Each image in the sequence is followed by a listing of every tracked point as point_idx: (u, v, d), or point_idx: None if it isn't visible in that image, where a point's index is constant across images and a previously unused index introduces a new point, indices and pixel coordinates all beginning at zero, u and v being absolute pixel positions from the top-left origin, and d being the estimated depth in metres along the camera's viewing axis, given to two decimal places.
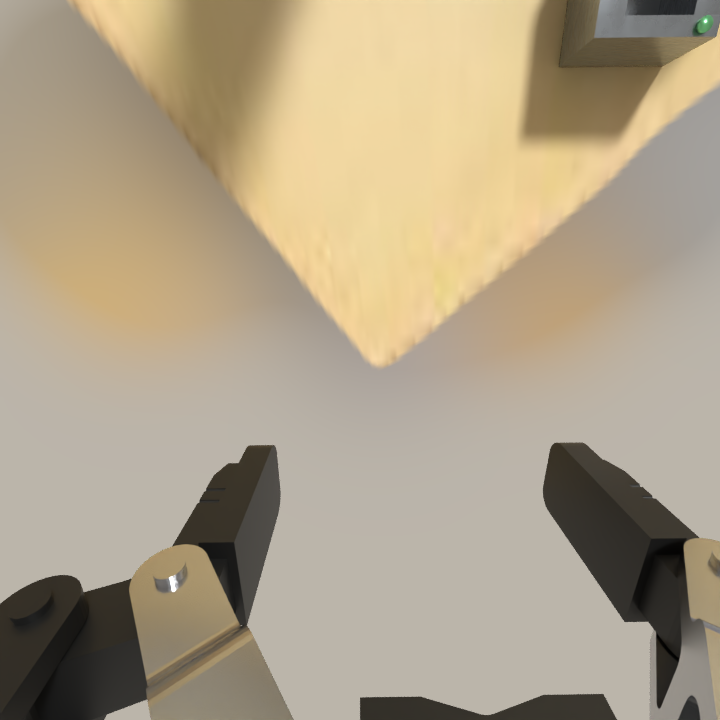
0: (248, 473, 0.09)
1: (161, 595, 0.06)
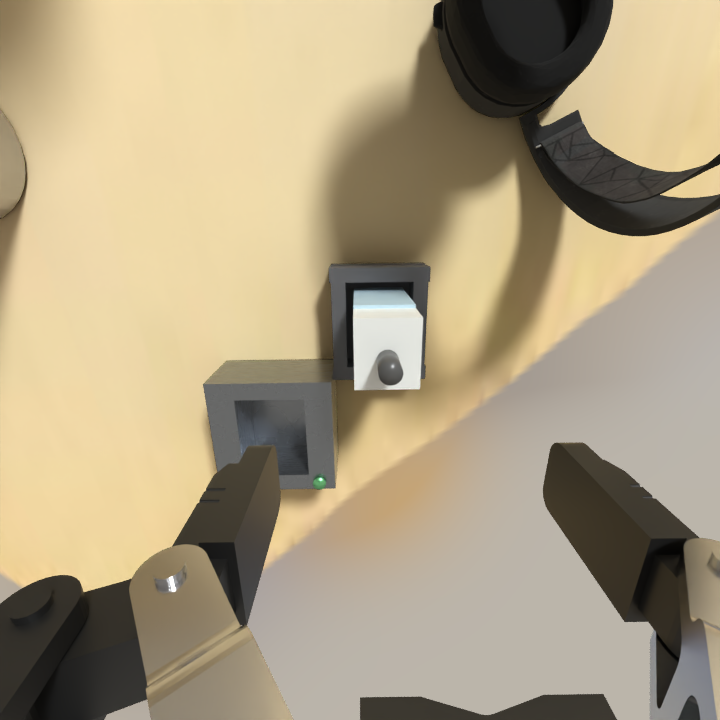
0: (248, 473, 0.09)
1: (161, 595, 0.06)
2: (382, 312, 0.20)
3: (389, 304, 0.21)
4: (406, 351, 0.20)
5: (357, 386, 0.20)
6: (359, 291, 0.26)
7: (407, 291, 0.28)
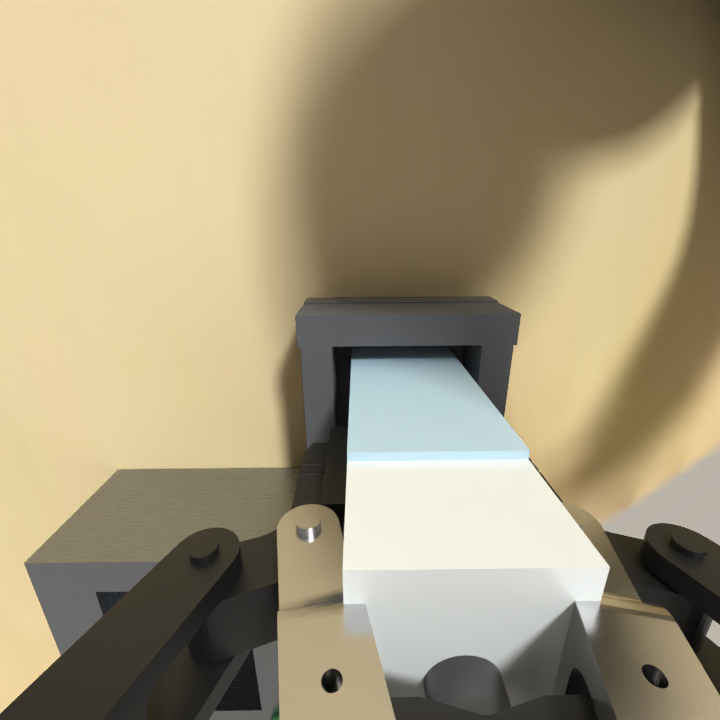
0: (341, 449, 0.10)
1: (308, 543, 0.07)
2: (439, 498, 0.06)
3: (451, 446, 0.07)
4: (530, 659, 0.06)
5: None
6: (363, 363, 0.12)
7: (458, 354, 0.14)
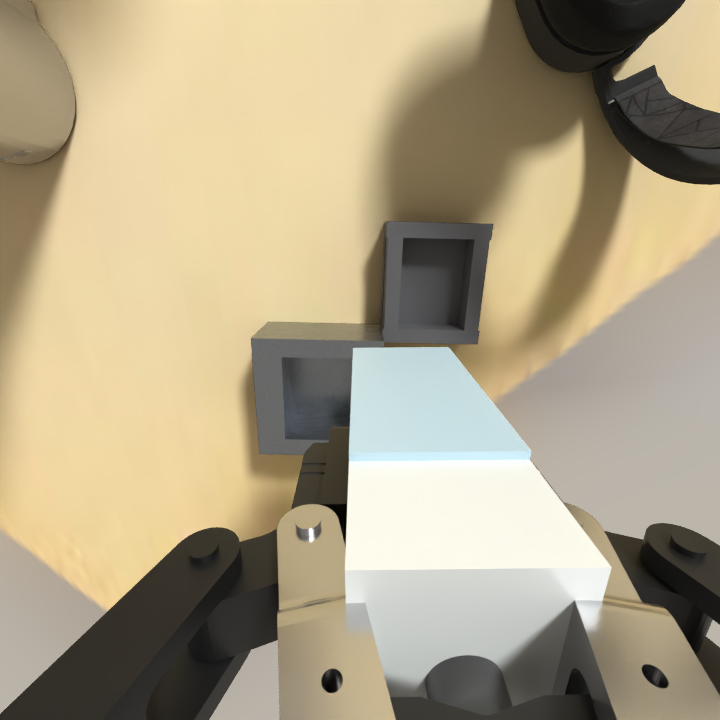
0: (341, 449, 0.10)
1: (309, 543, 0.07)
2: (441, 499, 0.06)
3: (452, 447, 0.07)
4: (532, 659, 0.06)
5: None
6: (364, 363, 0.12)
7: (462, 253, 0.27)
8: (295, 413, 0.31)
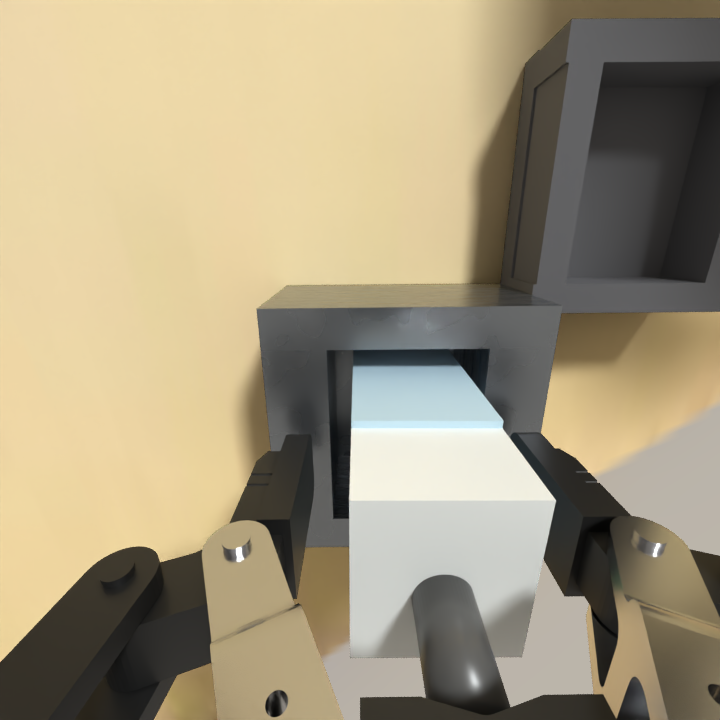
0: (291, 459, 0.09)
1: (232, 564, 0.06)
2: (427, 455, 0.08)
3: (438, 417, 0.09)
4: (496, 578, 0.07)
5: (358, 650, 0.08)
6: (363, 352, 0.14)
7: (695, 120, 0.13)
8: (340, 453, 0.17)
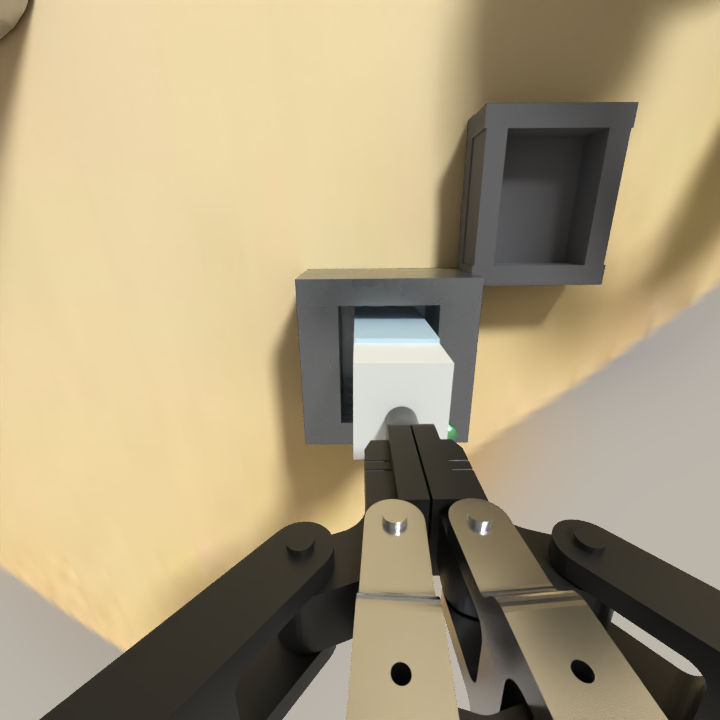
0: (403, 446, 0.10)
1: (400, 537, 0.07)
2: (394, 351, 0.14)
3: (403, 337, 0.16)
4: (428, 409, 0.14)
5: (357, 454, 0.14)
6: (361, 312, 0.20)
7: (578, 158, 0.20)
8: (345, 391, 0.24)
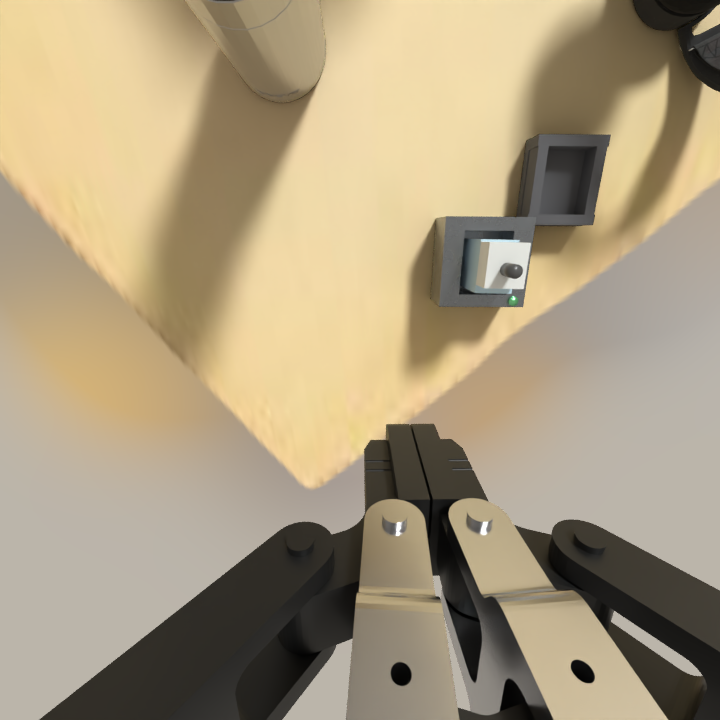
0: (403, 446, 0.10)
1: (400, 537, 0.07)
2: None
3: (502, 239, 0.35)
4: (518, 264, 0.33)
5: (486, 286, 0.33)
6: None
7: (582, 160, 0.39)
8: None
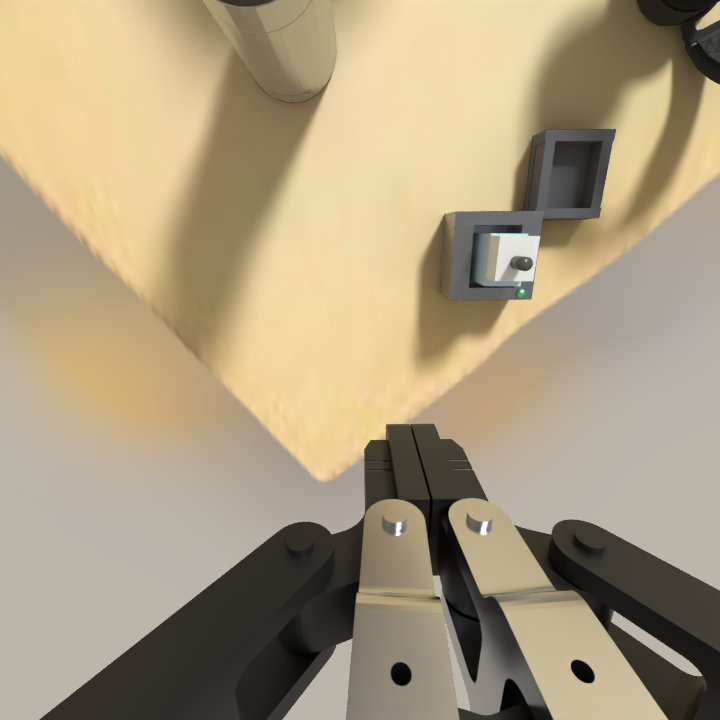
0: (403, 446, 0.10)
1: (400, 537, 0.07)
2: None
3: (511, 233, 0.35)
4: (528, 256, 0.34)
5: (496, 278, 0.34)
6: None
7: (588, 155, 0.39)
8: None
